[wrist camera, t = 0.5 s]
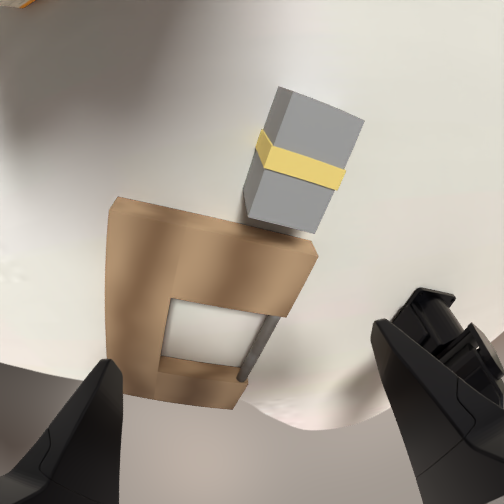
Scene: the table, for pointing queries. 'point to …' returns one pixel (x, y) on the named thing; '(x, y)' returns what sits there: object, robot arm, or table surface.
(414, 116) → the table surface
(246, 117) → the table surface
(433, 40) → the table surface
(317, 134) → the grey banded block
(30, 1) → the supplement box
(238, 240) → the brown wooden flat frame
